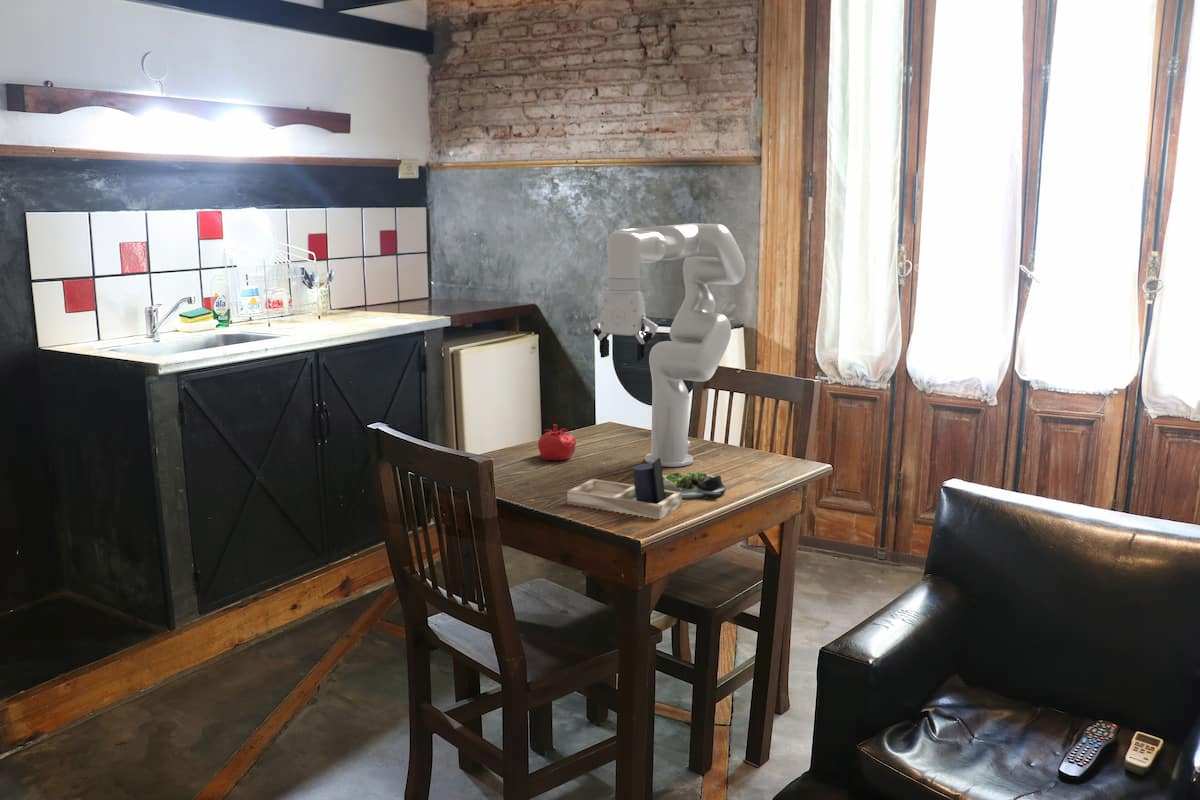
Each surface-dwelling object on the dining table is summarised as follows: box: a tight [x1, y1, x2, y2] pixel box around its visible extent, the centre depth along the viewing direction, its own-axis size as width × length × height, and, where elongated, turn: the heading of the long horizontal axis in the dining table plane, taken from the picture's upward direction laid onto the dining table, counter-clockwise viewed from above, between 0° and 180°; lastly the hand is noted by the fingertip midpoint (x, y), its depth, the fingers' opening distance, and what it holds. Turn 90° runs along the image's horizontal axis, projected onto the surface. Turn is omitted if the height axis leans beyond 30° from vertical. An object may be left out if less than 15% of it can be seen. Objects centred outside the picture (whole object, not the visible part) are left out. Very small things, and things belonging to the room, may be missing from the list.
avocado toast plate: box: [662, 471, 727, 499], centre depth 234 cm, size 19×18×5 cm
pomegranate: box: [537, 423, 577, 462], centre depth 261 cm, size 10×10×9 cm
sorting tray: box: [566, 478, 683, 520], centre depth 222 cm, size 12×23×3 cm, turn 62°
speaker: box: [632, 458, 665, 504], centre depth 219 cm, size 8×6×10 cm
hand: (622, 358), depth 234 cm, fingers open, 9 cm apart
